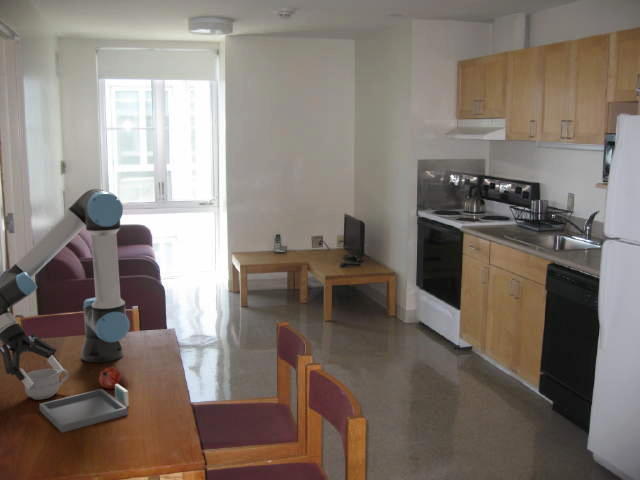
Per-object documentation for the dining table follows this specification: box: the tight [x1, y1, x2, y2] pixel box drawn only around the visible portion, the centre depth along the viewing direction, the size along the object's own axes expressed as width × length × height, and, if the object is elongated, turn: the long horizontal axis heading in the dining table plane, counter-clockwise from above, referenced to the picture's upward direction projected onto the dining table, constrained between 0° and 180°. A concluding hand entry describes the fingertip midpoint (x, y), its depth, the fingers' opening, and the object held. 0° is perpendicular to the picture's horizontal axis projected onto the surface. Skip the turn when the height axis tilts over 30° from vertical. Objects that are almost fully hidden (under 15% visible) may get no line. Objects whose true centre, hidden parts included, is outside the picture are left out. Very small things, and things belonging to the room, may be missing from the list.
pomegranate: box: [98, 366, 122, 390], centre depth 234 cm, size 7×7×10 cm
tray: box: [38, 388, 129, 433], centre depth 214 cm, size 20×20×2 cm
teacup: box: [24, 368, 70, 401], centre depth 227 cm, size 14×11×8 cm
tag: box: [114, 383, 130, 408], centre depth 221 cm, size 1×8×5 cm, turn 39°
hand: (46, 379), depth 226 cm, fingers open, 13 cm apart
